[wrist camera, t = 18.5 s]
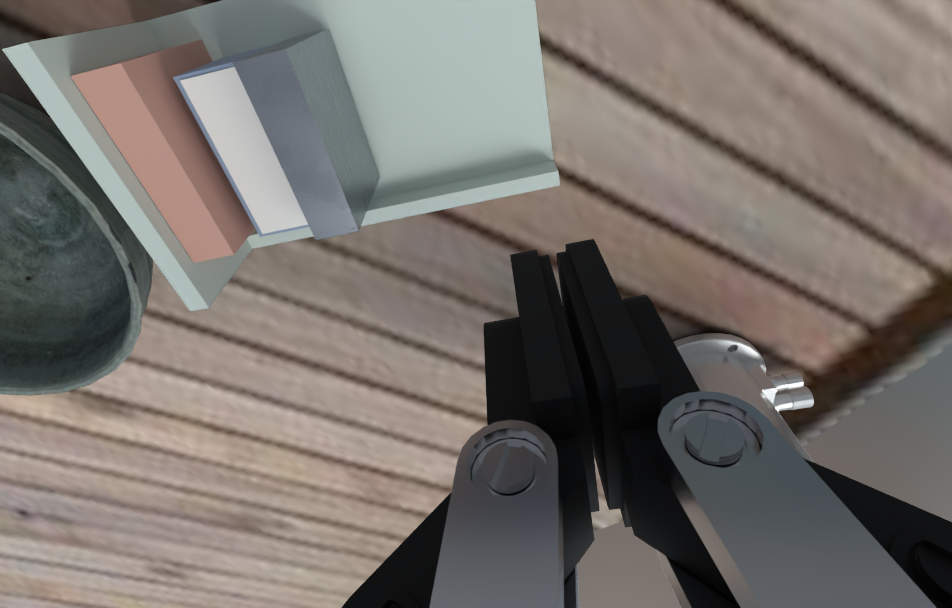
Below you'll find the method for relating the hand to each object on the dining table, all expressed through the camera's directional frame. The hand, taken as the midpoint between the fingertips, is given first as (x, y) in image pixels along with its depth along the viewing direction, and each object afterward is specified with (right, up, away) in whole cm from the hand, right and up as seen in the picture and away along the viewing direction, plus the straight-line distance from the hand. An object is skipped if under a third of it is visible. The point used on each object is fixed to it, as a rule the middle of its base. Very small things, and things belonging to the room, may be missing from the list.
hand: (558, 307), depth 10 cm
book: (-14, +12, +20) cm, 27 cm away
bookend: (-10, +12, +20) cm, 25 cm away
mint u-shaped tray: (-9, +13, +20) cm, 26 cm away
